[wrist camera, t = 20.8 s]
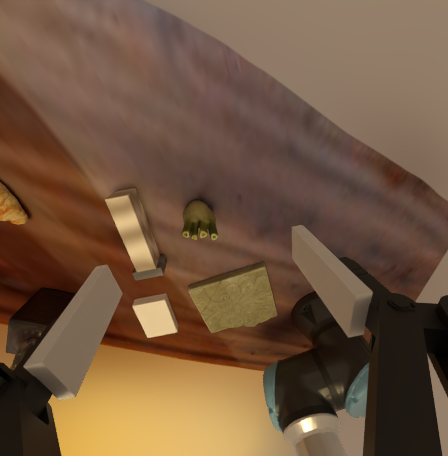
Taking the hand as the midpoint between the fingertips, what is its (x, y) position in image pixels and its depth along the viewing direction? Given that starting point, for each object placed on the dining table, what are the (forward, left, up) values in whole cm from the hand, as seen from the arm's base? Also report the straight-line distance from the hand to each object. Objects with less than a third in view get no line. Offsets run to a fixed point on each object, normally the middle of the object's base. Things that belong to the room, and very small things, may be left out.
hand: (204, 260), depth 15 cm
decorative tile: (-34, -2, -29) cm, 45 cm away
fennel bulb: (-7, +2, -29) cm, 30 cm away
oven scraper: (-8, +15, -29) cm, 33 cm away
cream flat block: (-27, +19, -28) cm, 43 cm away
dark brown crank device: (-23, +38, -29) cm, 53 cm away
